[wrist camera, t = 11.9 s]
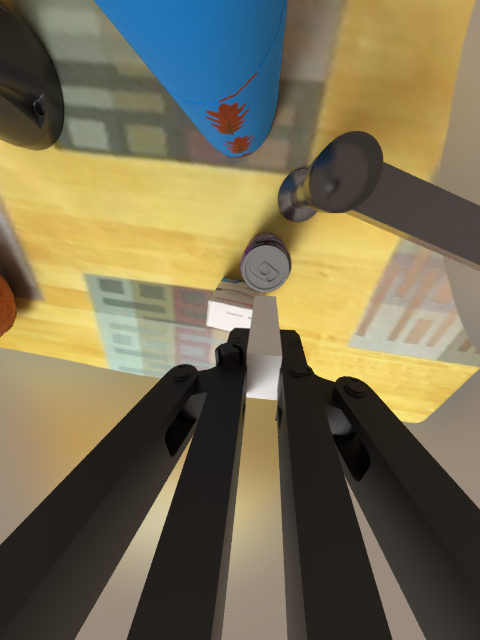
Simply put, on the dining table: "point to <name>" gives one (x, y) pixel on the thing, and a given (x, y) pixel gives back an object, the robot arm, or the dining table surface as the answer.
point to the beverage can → (265, 263)
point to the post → (294, 198)
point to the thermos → (211, 61)
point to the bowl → (6, 306)
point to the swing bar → (392, 198)
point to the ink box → (231, 305)
